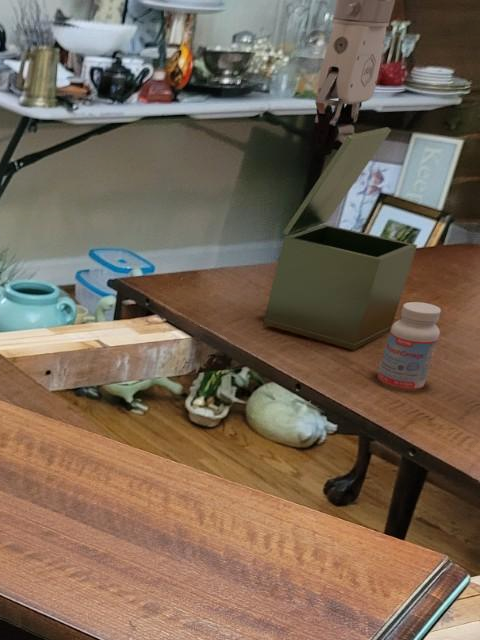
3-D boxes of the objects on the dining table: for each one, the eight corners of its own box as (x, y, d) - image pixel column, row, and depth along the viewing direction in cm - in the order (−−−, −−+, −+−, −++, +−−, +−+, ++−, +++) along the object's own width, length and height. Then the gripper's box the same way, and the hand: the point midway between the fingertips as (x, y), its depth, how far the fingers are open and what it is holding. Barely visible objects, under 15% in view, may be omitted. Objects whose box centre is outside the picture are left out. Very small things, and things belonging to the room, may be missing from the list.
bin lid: (391, 129, 162) (363, 110, 163) (352, 138, 153) (323, 117, 155) (326, 222, 173) (301, 203, 175) (286, 235, 164) (260, 215, 166)
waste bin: (390, 331, 172) (417, 244, 165) (353, 350, 163) (380, 259, 156) (302, 307, 181) (324, 224, 173) (262, 324, 172) (284, 237, 165)
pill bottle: (368, 388, 150) (390, 307, 144) (385, 376, 154) (406, 297, 148) (414, 399, 147) (437, 317, 141) (429, 387, 151) (453, 306, 145)
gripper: (363, 16, 145) (327, 161, 155) (413, 14, 156) (376, 150, 166) (310, 11, 150) (278, 153, 159) (361, 9, 160) (329, 142, 170)
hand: (328, 150), depth 162 cm, fingers closed on bin lid, 5 cm apart
